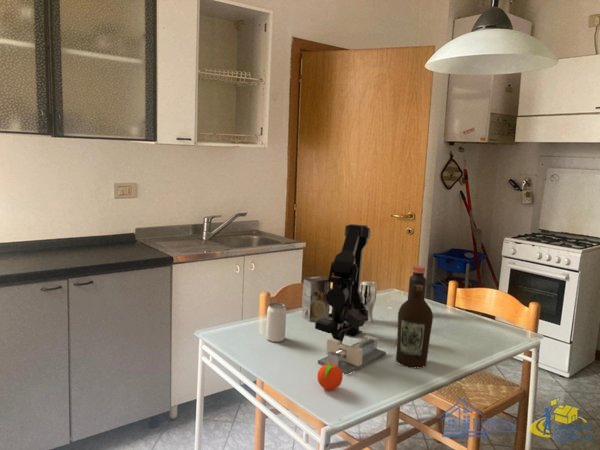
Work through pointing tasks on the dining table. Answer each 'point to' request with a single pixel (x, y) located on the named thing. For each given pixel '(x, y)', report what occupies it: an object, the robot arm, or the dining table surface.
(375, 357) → the rail board
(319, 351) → the dining table surface
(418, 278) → the bottle
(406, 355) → the olive oil
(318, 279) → the coffee box
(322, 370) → the clementine
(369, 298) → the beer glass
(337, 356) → the steel pipe
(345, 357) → the cream flat bar
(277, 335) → the can
